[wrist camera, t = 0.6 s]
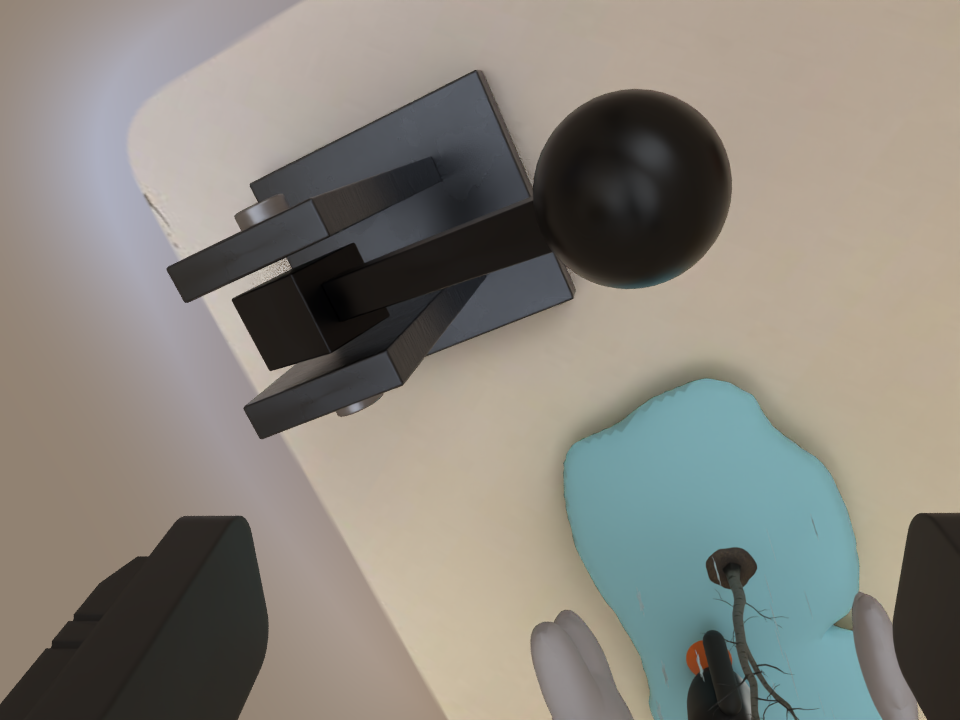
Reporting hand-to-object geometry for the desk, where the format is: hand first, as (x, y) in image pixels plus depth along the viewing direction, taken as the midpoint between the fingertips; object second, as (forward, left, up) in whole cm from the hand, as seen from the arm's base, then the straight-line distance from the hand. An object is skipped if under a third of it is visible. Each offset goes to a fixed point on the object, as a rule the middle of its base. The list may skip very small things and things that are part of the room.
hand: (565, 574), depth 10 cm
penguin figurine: (+16, -1, -22) cm, 27 cm away
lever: (-3, -2, -10) cm, 11 cm away
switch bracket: (-3, -7, -22) cm, 23 cm away
